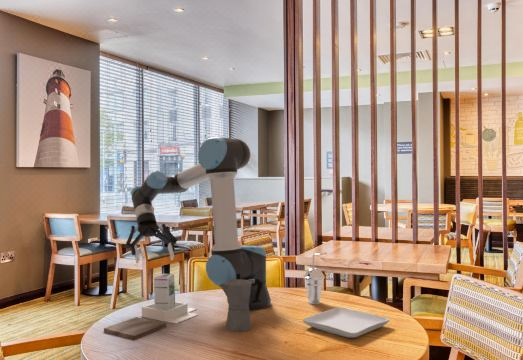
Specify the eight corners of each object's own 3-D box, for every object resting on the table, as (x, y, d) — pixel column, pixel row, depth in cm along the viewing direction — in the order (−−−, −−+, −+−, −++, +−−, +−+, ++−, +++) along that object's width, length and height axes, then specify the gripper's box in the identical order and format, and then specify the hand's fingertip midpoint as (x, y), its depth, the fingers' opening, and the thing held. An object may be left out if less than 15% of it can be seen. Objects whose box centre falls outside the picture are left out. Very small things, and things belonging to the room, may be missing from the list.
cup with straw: (312, 298, 192) (311, 249, 192) (330, 302, 186) (329, 251, 186) (298, 302, 186) (298, 252, 186) (317, 307, 180) (316, 254, 180)
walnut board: (165, 327, 158) (165, 323, 158) (134, 339, 146) (134, 335, 146) (136, 320, 165) (136, 317, 165) (103, 332, 154) (103, 328, 154)
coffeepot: (225, 334, 150) (224, 278, 150) (215, 326, 158) (214, 272, 158) (268, 327, 156) (268, 273, 156) (257, 319, 165) (256, 268, 165)
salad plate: (338, 315, 171) (338, 305, 171) (391, 328, 156) (391, 317, 155) (300, 328, 156) (300, 318, 156) (354, 344, 141) (354, 333, 141)
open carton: (206, 311, 175) (206, 302, 175) (176, 323, 161) (176, 313, 161) (173, 305, 184) (173, 296, 184) (141, 316, 170) (141, 306, 170)
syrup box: (169, 317, 168) (169, 277, 168) (154, 316, 170) (153, 276, 169) (175, 313, 174) (175, 273, 174) (160, 312, 175) (160, 273, 175)
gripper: (173, 221, 203) (184, 262, 190) (113, 225, 192) (121, 268, 178) (176, 210, 198) (188, 251, 185) (115, 213, 187) (123, 256, 174)
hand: (155, 259), depth 182 cm, fingers open, 13 cm apart
